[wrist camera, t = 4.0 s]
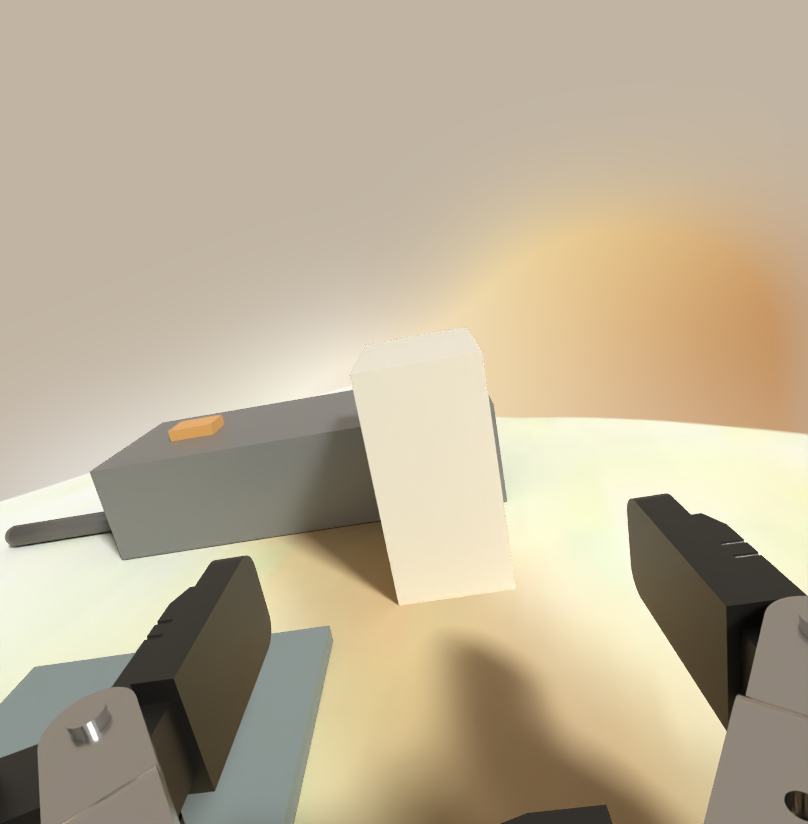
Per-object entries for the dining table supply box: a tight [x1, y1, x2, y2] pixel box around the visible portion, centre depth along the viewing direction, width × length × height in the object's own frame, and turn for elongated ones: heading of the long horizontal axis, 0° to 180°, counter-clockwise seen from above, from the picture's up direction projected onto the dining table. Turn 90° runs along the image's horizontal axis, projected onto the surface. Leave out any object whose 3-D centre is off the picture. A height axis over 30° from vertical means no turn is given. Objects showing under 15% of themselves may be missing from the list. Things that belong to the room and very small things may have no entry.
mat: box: [0, 626, 333, 824], centre depth 14 cm, size 11×11×1 cm
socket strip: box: [5, 390, 507, 560], centre depth 31 cm, size 29×8×6 cm, turn 89°
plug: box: [350, 327, 516, 605], centre depth 23 cm, size 4×9×9 cm, turn 179°
